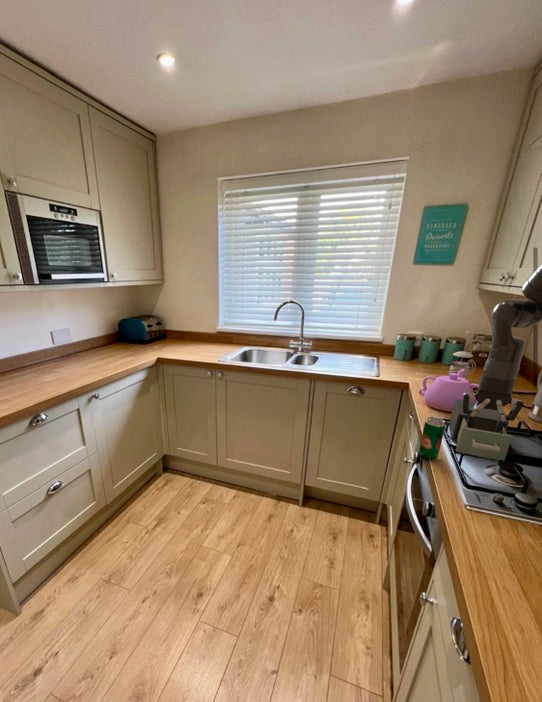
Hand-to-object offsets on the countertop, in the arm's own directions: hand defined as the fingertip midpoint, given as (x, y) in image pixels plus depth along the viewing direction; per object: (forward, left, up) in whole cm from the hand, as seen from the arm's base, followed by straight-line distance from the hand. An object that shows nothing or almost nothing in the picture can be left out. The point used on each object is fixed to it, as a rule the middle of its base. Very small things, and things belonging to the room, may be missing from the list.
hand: (483, 429), depth 97 cm
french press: (0, -76, -8) cm, 77 cm away
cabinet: (0, -12, -8) cm, 14 cm away
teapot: (+6, -40, -8) cm, 41 cm away
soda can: (+13, +10, -8) cm, 18 cm away
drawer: (0, 0, -7) cm, 7 cm away
